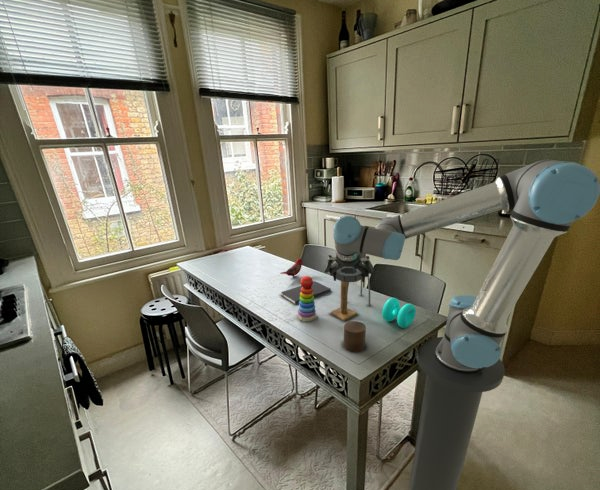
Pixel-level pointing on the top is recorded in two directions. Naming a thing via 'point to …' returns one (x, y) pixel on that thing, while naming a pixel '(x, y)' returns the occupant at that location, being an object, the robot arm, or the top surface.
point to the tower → (343, 305)
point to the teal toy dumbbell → (398, 312)
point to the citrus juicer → (361, 280)
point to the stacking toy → (306, 300)
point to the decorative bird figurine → (294, 268)
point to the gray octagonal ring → (349, 274)
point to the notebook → (295, 292)
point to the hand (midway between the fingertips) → (349, 278)
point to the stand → (354, 336)
